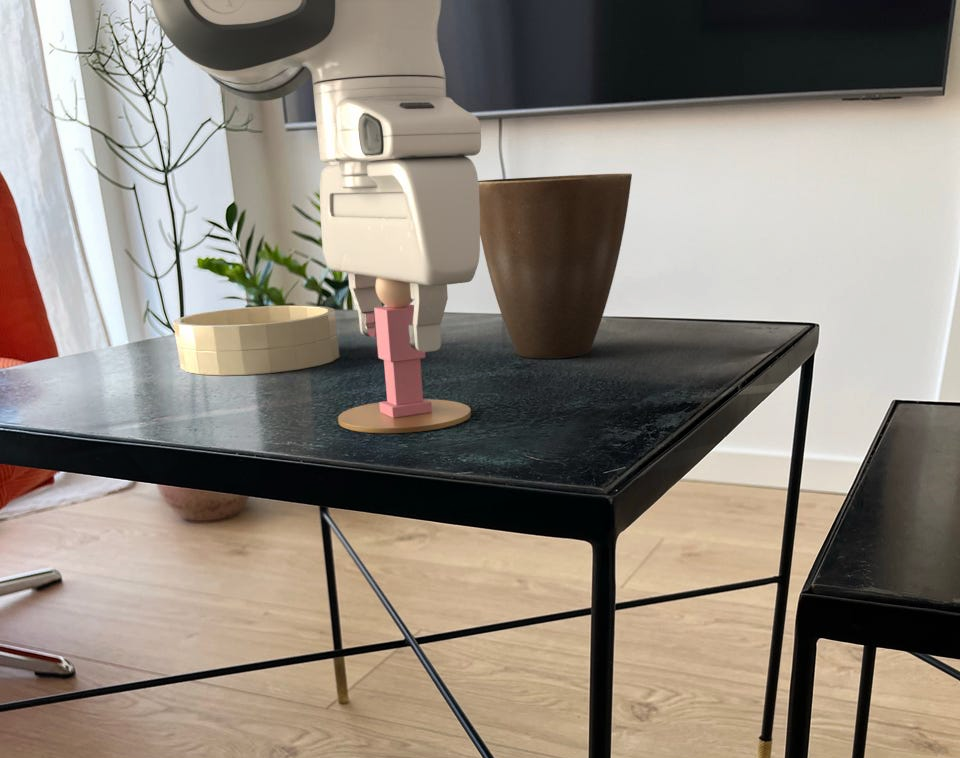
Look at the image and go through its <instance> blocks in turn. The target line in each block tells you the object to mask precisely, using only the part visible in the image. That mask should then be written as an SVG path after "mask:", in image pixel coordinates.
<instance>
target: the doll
mask: <svg viewBox="0 0 960 758" xmlns="http://www.w3.org/2000/svg"><path fill="white" fill-rule="evenodd" d="M376 293H377V295H378V297H379V299H380V300H381V302H382V305H384V306H382V307H376V308H374V311H375V323H376V335H377V337H376V346H377V357H378V359H380V360H383V366H384V378H385V391H386V400H383V401H379V405H380V412H381V413H383V414H385V415H388V416H390V417H392V418H397V417H404V416H411V415H417V414H424V413H430V412H432V404H431V402H430V401H427V400H425V399H426V398H424V394H423V392H424V391H423V378H422V363H421V359H426V352H420V351H417V350H414V349H412V348H411V346H410V342H409V340H410V336H409V328H408V324H413V314H414V304H412V303H413V302H414V300H412V299H411V292H410V283H409V282H403V281H397V280H390V279H384V278H378V277H377V279H376Z"/></svg>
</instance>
